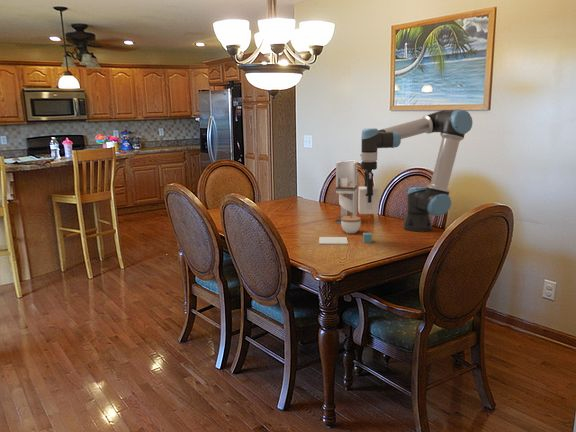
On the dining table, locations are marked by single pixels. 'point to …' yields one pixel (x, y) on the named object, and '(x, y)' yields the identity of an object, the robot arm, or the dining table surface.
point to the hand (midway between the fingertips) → (368, 207)
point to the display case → (347, 187)
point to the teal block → (367, 237)
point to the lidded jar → (350, 223)
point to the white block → (362, 200)
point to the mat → (333, 241)
